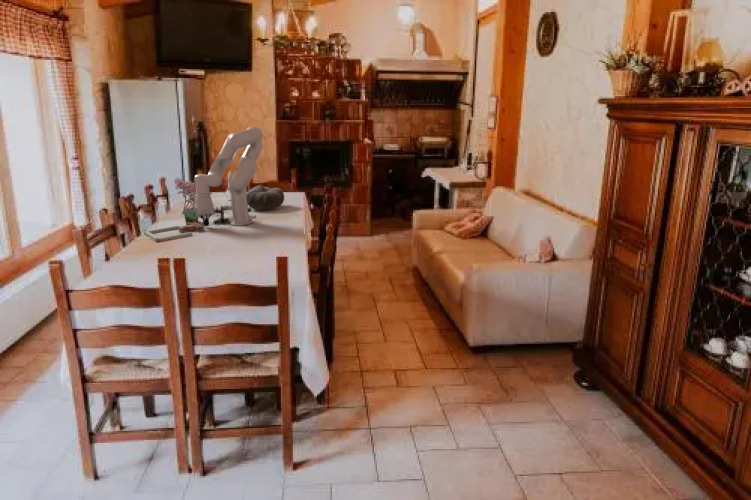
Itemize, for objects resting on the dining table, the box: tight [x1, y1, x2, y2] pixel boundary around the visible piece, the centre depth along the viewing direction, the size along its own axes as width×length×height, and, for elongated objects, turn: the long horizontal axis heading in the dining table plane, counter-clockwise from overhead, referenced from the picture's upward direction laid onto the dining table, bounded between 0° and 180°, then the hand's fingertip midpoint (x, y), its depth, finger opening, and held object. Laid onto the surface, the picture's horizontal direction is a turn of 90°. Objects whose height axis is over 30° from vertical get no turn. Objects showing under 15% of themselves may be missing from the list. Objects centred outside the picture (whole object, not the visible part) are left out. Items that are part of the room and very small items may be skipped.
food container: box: [182, 205, 199, 226], centre depth 339 cm, size 12×6×10 cm, turn 168°
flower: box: [173, 176, 197, 214], centre depth 370 cm, size 20×22×24 cm
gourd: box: [246, 184, 285, 212], centre depth 372 cm, size 25×25×17 cm
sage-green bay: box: [143, 224, 193, 242], centre depth 314 cm, size 20×23×2 cm
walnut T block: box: [177, 222, 205, 234], centre depth 321 cm, size 12×13×3 cm
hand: (206, 225), depth 327 cm, fingers closed
